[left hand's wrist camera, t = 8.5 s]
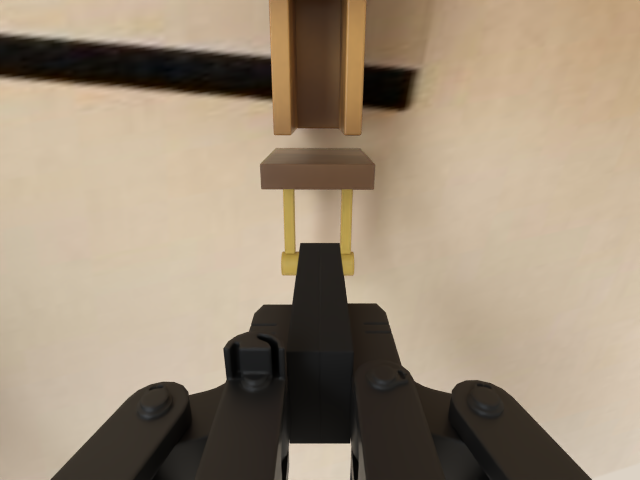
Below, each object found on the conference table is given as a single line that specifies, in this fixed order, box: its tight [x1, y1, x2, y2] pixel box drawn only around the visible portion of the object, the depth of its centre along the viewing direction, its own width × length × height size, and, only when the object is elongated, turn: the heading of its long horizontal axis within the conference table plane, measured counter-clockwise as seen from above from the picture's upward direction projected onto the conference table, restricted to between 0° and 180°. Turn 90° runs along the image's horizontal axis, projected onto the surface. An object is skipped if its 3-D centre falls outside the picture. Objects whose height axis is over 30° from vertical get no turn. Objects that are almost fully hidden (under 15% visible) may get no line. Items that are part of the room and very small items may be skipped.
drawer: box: [260, 0, 375, 276], centre depth 20 cm, size 21×5×7 cm, turn 0°
